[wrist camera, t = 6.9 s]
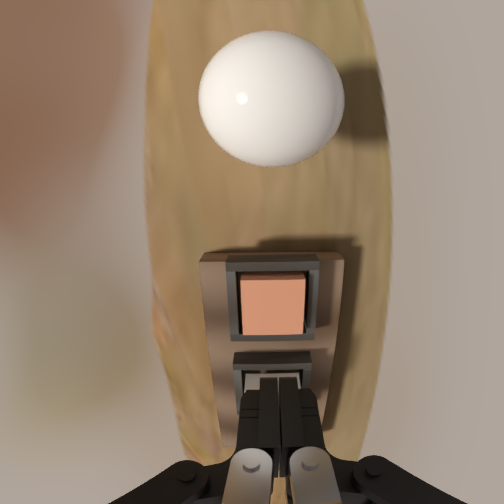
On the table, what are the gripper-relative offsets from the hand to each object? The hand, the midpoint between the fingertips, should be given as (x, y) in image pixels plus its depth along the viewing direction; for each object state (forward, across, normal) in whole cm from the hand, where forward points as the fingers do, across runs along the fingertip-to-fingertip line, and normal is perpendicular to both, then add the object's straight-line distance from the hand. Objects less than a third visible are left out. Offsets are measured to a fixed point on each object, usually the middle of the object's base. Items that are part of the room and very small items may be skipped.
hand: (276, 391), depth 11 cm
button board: (+12, 0, +8) cm, 15 cm away
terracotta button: (+10, 0, 0) cm, 10 cm away
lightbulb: (+12, 0, -12) cm, 17 cm away
